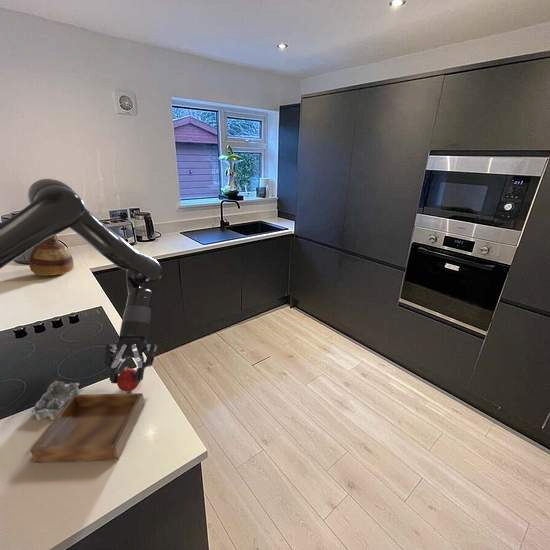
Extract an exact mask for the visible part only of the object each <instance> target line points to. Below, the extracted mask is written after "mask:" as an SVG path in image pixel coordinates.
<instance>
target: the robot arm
mask: <svg viewBox="0 0 550 550" xmlns="http://www.w3.org/2000/svg"><path fill="white" fill-rule="evenodd" d="M27 191H28V192H27V195H28V196H27V198H28V202H29V204H28V205H27V206H25V207H24V208H23V209H21V210H20V211H18V212H17V213H16V214H14V215H12V216H11V217H9V218H7V219H5V220H4V221H1V222H0V270H1V269H3V268H5V267H6V266H7V265H9V264H10V263H12V262H13V261H15V260H16V259H18V258H19V257H21V256H23V255H24V254H25V253H26V252H29V251H30V250H31V249H33V248H34V246H36V245H37V244H39V243H41V242H43V241H44V240H46V239H48V238H50V237H52V236H54V235H56V236H57V234H59V233H62V232H63V231H66V230H67V229H71V230H72V231H74V232H75V233H76V234H78V236H80V238H82V239H83V240H85V241H86V243H88V244H89V245H90V246H91V247H93V248H94V249H95V251H97V252H98V253H99V254H100V255H102V256H103V258H105V259H107V260H108V261H109V262H111V263H112V264H113V265H115V266H116V267H117V268H119V269H121V270H124V271H126V273H125V278H126V286H127V287H126V289H127V299H126V304H125V309H124V312H123V315H122V319H121V325H120V331H119V336H118V341H117V342H116V344H106V345H105V352H104V353H105V354H104V355H105V356H104V366H106V367H108V368H110V369H111V370H110V374H109V381H110V383H111V384H117V378H118V376H119V374H120V367H121V366H122V364H123V363H124V362H125V361H126V359H131V358H132V359H135V361H136V365H137V368H136V378H135V383H139V384H141V382H142V381H143V379H144V376H145V375H144V374H145V369H146V368H148V367H152V366H153V363H154V360H155V356H156V353H157V350H158V345H156V344H154V343H148V338H149V332H150V324H151V317H152V305H153V298H154V293H153V291H152V290H150V289H148V288H144V284H150V283H156V282H157V281H159V280H161V278H162V277H163V268H162V266H161V264H160V263H159V262H158V261H157V260H156V259H154V258H153V257H151V256H149V255H147V254H145V253H144V252H141V251H138V250H137V249H135V247H133V245H131V244H130V243H128V242H127V241H126V240H125V239H124V238H123V237H121V236H120V235H119V234H118V233H116V232H114V231H113V230H112V229H111V228H109V227H108V226H107V225H106V224H104V223H103V222H102V221H101V220H100V219H98V218H97V217H96V215H94V214H93V213H92V212H91V211H90V210H89V209H88V208H87V207H85V203H84V201H83V199H82V197H80V196H79V194H78V193H76V191H75V190H74V189H73V188H72V187H71V186H69V185H68V184H66V183H65V182H63V181H61V180H57V179H53V178H41V179H38V180H36V181H34V182H33V183H32V184H31V185H30V187H29V188H28V190H27ZM146 349H147V350H146ZM116 350H117V351H118V353H117V354H116V355H115V353H116ZM145 351H147V352H148V353H147V356H146V358H145V356H144V354H143V353H144V352H145ZM114 357H115V358H114Z"/></svg>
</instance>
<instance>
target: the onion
mask: <svg viewBox="0 0 550 550" xmlns="http://www.w3.org/2000/svg"><path fill="white" fill-rule="evenodd" d="M136 371H137V369H135V368H132V367H131V368H130V367H128V366H125V367H124V368H123V370H122V371H121V372H119V375H118V378H117V383H116V385H117V387H118V389H120V390H121V391H123V392H131V391H134V390H136V388H137V387H138V386H139V384H140V383H135V378H136Z"/></svg>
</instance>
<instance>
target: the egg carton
mask: <svg viewBox="0 0 550 550" xmlns="http://www.w3.org/2000/svg"><path fill="white" fill-rule="evenodd" d="M80 384H81V383H80V382H74V383H73V382H69V383H66V382H64V381H59V380H56V379H55V380H53V382H51V384H50V385H48V387H47V389H46V392H44V393H43V394H42V396H41V397H40V398H39V400H37V402H36V403H35V405H34V406H33V408H32V410H30V412H29V414H32V415H34V417H35V418H36V421H42V420H43V419H45V418H48V417H49V418H50V420H51V421H54V419H55V418H56V417H57V416H58V414H59V413H60V412H61V410H62V409H63V408H64V407H65V405H66V404H67V403H68V402H69V400H70V399H71V398H72V397H73V395H81V390H80V389H79V386H80Z"/></svg>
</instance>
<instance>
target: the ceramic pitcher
mask: <svg viewBox="0 0 550 550" xmlns="http://www.w3.org/2000/svg"><path fill="white" fill-rule="evenodd" d="M74 265H75V263H74V259H73V255H72V254H71V252H70V250H69V249H68V247H67V246H65V244H63V243H61V242H59V241H58V239H57V234H56V235H54V236H52V237H50V238H48V239H46V240H44V241H43V242H41V243H39V244H37V245H36V246H34V247H32V250H31V252H30V255H29V258H28V267H29V269H30V270H31V273H33V274H34V275H38V276H43V277H45V276H49V275H50V276H57V274H58V275H63V274H66V273H69V272H71V271H72V270H73V269H74Z"/></svg>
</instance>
